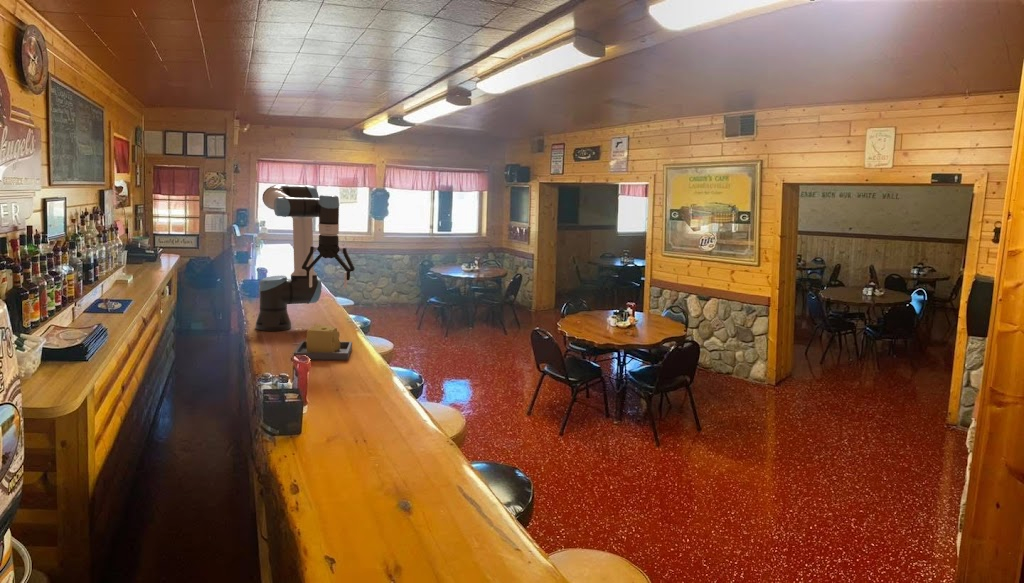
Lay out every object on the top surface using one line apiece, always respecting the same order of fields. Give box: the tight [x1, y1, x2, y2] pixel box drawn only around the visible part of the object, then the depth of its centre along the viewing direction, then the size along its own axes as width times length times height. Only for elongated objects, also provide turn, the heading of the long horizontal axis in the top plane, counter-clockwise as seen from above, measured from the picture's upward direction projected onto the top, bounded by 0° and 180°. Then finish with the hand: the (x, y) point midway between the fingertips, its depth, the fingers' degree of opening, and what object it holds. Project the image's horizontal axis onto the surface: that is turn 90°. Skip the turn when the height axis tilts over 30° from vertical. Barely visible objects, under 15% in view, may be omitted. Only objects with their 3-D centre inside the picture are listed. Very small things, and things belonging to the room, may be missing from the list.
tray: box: [292, 340, 353, 362], centre depth 254 cm, size 18×20×3 cm
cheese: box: [306, 323, 341, 352], centre depth 253 cm, size 10×11×10 cm
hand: (328, 287), depth 258 cm, fingers open, 13 cm apart
